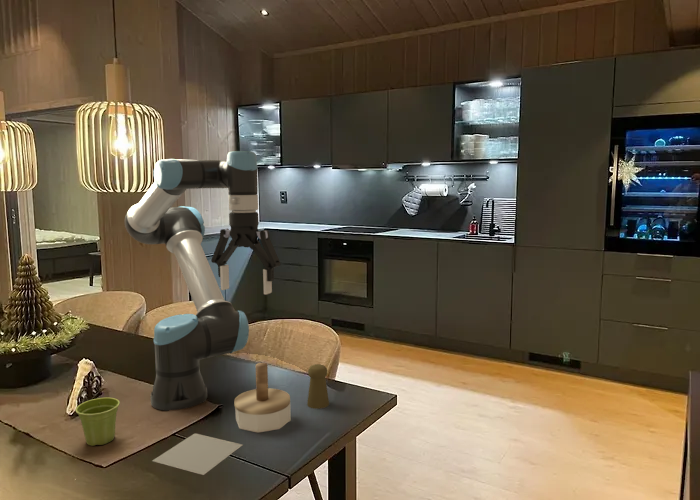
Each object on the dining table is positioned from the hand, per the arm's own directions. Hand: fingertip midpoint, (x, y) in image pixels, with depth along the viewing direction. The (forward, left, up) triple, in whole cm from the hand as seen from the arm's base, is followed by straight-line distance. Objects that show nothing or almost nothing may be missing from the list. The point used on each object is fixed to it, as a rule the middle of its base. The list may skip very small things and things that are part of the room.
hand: (246, 291), depth 144 cm
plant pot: (-21, -31, -32) cm, 49 cm away
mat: (+5, -27, -32) cm, 42 cm away
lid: (+9, -7, -27) cm, 29 cm away
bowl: (+9, -7, -32) cm, 34 cm away
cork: (+17, +8, -32) cm, 37 cm away
